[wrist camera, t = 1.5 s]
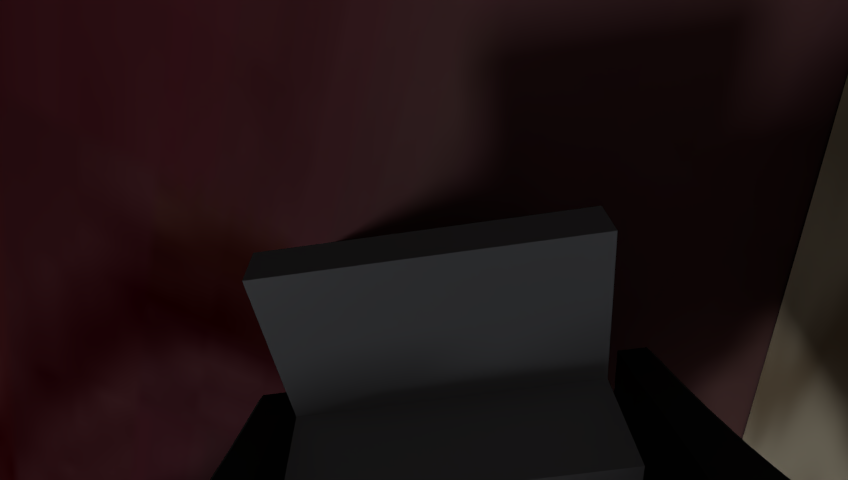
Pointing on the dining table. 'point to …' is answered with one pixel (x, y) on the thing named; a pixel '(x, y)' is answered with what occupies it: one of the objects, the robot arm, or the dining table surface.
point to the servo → (450, 352)
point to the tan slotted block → (811, 338)
